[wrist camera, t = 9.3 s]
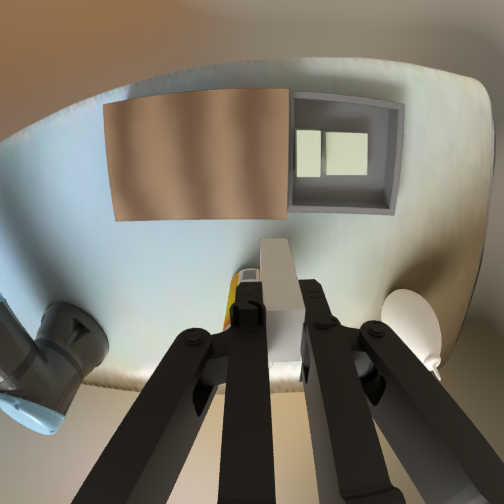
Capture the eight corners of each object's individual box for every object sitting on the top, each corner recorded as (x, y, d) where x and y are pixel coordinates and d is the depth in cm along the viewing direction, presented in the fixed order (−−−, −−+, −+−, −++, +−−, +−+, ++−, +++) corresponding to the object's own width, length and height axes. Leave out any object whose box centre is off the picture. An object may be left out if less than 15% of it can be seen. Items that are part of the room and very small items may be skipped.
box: (282, 203, 37) (284, 212, 34) (284, 93, 31) (286, 90, 28) (384, 206, 37) (394, 215, 34) (392, 104, 31) (404, 104, 28)
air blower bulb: (423, 284, 42) (476, 360, 26) (398, 321, 46) (438, 401, 30) (389, 270, 41) (441, 353, 25) (364, 310, 45) (400, 398, 29)
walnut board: (134, 206, 38) (115, 221, 33) (125, 104, 32) (103, 104, 26) (282, 203, 37) (286, 219, 32) (284, 93, 31) (288, 88, 26)
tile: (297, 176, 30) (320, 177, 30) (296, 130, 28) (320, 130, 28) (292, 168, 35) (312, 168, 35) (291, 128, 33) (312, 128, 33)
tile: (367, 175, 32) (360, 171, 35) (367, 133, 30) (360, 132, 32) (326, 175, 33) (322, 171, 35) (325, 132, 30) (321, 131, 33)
